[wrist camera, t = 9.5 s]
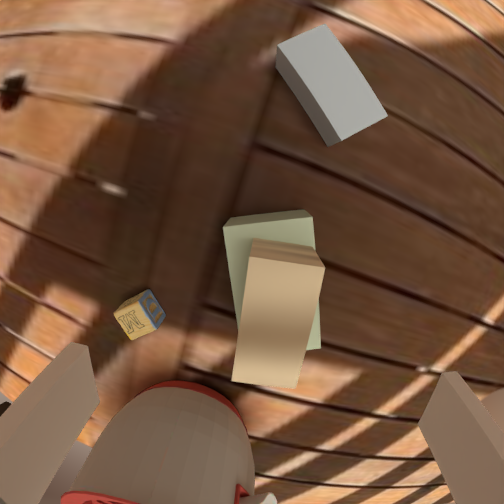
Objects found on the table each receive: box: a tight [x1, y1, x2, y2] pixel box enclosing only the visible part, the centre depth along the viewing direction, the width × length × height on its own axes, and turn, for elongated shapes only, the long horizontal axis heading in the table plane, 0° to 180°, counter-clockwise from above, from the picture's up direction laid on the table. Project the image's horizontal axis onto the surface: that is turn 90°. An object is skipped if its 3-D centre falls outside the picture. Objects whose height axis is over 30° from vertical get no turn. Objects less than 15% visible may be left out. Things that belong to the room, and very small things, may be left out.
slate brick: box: [276, 24, 388, 147], centre depth 21 cm, size 8×4×5 cm, turn 31°
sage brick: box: [223, 209, 321, 350], centre depth 24 cm, size 10×6×5 cm, turn 7°
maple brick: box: [232, 238, 325, 389], centre depth 20 cm, size 8×4×5 cm, turn 172°
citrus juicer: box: [61, 381, 277, 504], centre depth 21 cm, size 16×17×20 cm
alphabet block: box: [114, 289, 166, 340], centre depth 27 cm, size 3×3×3 cm
